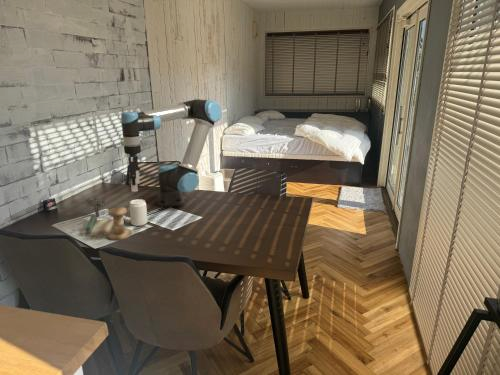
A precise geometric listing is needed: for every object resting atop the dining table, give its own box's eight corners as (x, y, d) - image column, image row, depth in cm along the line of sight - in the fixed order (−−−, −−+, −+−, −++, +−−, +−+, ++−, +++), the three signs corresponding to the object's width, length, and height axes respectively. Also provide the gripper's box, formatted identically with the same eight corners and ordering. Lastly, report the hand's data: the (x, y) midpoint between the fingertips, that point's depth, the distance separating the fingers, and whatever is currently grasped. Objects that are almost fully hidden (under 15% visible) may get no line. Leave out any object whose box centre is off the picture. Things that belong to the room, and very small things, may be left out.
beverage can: (138, 228, 173) (136, 205, 169) (127, 224, 177) (125, 202, 173) (151, 222, 179) (149, 200, 176) (140, 219, 183) (138, 197, 180)
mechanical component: (104, 218, 184) (102, 200, 181) (87, 216, 186) (84, 199, 183) (107, 216, 187) (105, 198, 184) (90, 214, 189) (88, 197, 186)
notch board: (124, 220, 182) (123, 212, 180) (120, 232, 167) (120, 224, 166) (91, 222, 178) (90, 215, 177) (85, 236, 163) (84, 227, 162)
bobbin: (132, 230, 170) (129, 205, 166) (130, 239, 161) (127, 213, 157) (110, 232, 168) (107, 207, 164) (107, 241, 158) (104, 214, 154)
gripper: (126, 140, 176) (130, 180, 183) (120, 150, 153) (125, 195, 159) (141, 140, 178) (145, 179, 184) (138, 149, 155) (142, 194, 161)
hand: (135, 187), depth 172 cm, fingers open, 13 cm apart
